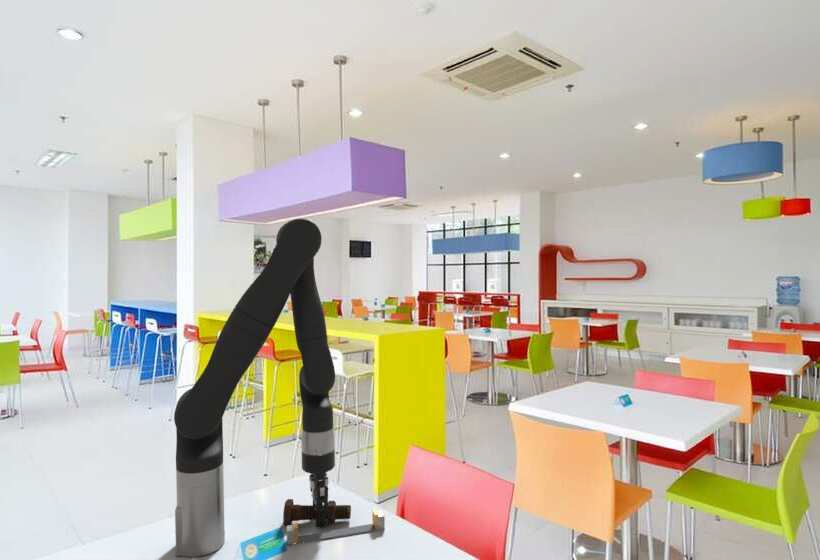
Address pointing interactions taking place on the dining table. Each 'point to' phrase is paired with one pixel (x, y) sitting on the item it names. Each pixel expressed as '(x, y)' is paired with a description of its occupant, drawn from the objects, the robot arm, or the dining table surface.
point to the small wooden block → (378, 520)
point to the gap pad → (336, 533)
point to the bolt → (314, 512)
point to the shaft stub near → (292, 533)
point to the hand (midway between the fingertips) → (319, 519)
